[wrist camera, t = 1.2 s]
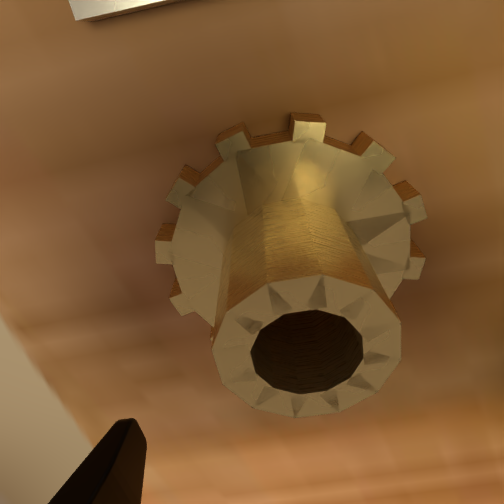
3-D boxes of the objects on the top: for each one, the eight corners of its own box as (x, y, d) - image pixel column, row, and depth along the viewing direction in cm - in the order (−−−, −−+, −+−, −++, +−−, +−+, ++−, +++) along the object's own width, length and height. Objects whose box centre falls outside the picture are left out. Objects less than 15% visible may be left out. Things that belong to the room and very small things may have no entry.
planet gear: (413, 87, 13) (536, 128, 8) (410, 318, 18) (482, 447, 12) (129, 144, 14) (47, 217, 8) (199, 349, 19) (177, 482, 13)
